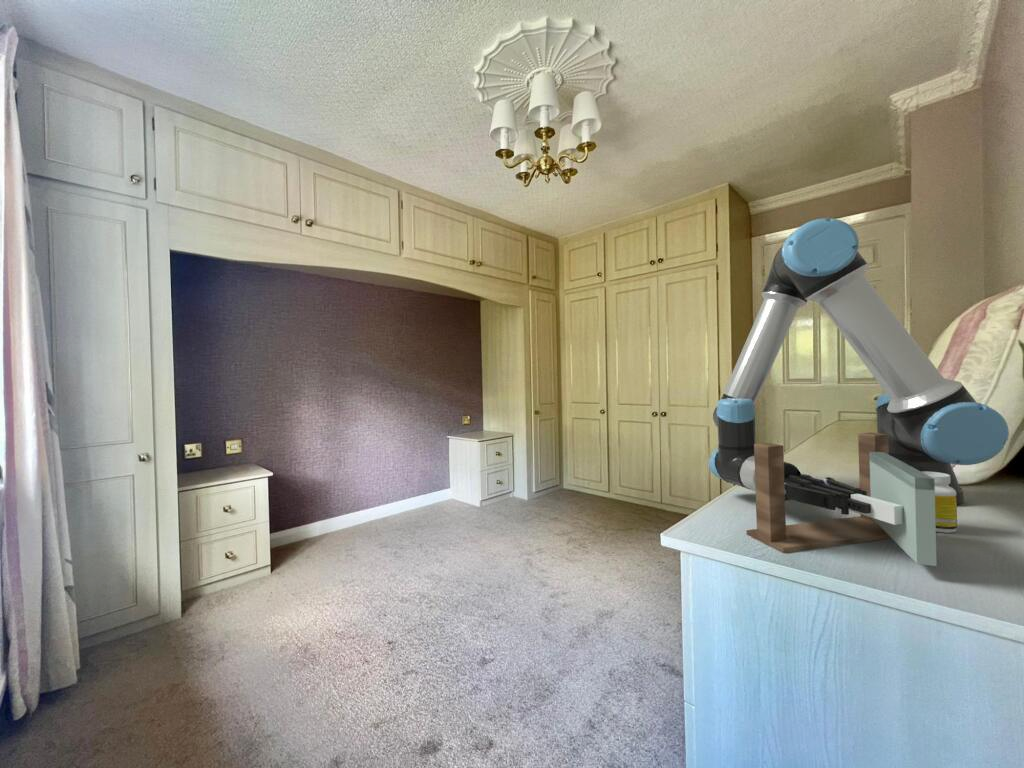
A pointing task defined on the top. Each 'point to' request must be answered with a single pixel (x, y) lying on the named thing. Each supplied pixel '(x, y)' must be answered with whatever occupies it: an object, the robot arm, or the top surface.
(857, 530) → the gate frame
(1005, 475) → the top surface
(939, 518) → the supplement bottle
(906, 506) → the gate
